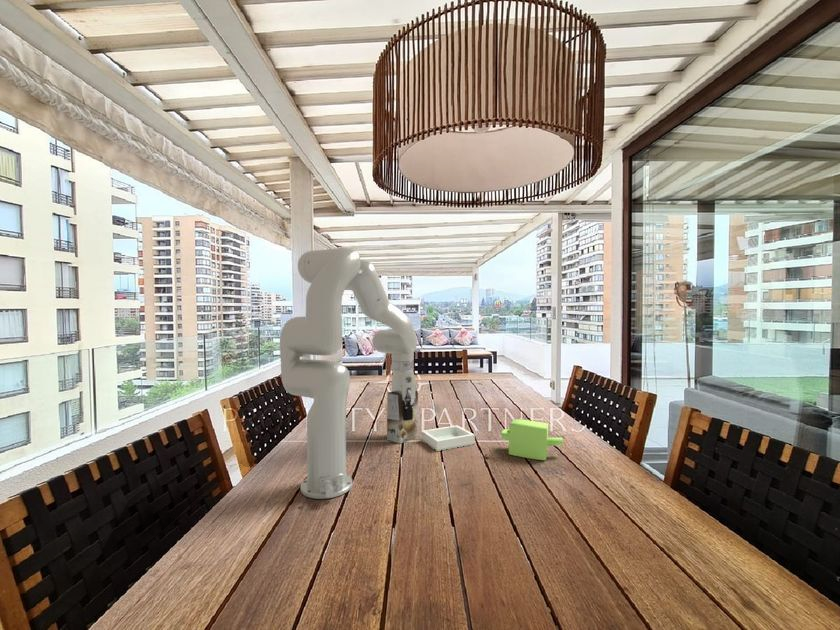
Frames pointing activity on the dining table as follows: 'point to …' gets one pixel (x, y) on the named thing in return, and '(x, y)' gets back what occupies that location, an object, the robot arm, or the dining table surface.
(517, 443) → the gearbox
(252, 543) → the dining table surface
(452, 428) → the locating tray
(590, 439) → the dining table surface
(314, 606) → the dining table surface
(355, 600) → the dining table surface
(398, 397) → the coffee box
